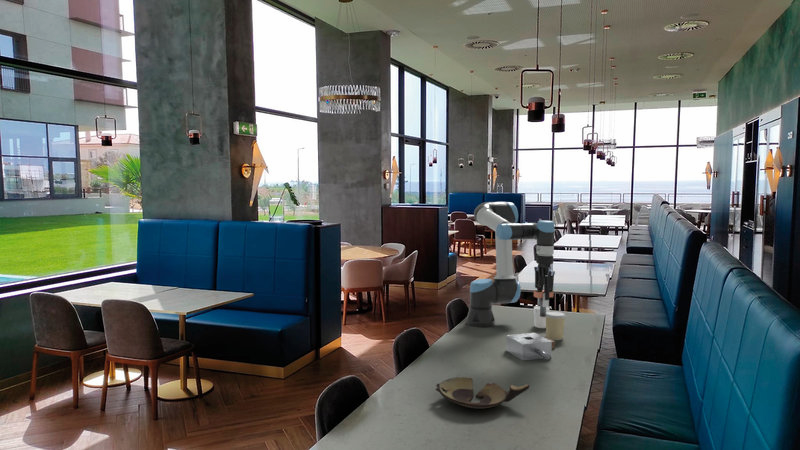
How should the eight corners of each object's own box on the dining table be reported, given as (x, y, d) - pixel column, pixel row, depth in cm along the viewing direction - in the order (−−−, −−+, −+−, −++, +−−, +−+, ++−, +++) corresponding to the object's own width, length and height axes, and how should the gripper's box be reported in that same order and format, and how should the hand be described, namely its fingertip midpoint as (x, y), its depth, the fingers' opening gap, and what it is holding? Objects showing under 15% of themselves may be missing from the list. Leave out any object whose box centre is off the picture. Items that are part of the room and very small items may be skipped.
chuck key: (533, 315, 246) (533, 290, 245) (548, 314, 248) (549, 289, 247) (537, 317, 243) (537, 292, 242) (552, 316, 245) (553, 291, 244)
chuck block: (506, 350, 240) (506, 335, 239) (533, 347, 244) (534, 332, 243) (533, 367, 218) (534, 350, 217) (563, 364, 222) (564, 347, 221)
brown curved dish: (452, 385, 198) (452, 365, 198) (532, 402, 183) (533, 380, 183) (424, 407, 179) (425, 385, 178) (512, 428, 164) (512, 404, 163)
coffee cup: (562, 335, 264) (563, 311, 263) (566, 341, 254) (567, 316, 254) (543, 335, 265) (543, 311, 264) (546, 340, 255) (547, 315, 254)
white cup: (532, 327, 278) (533, 308, 277) (533, 324, 285) (534, 305, 284) (548, 329, 275) (549, 310, 274) (549, 325, 283) (549, 306, 282)
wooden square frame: (530, 344, 249) (530, 338, 249) (545, 343, 251) (545, 336, 251) (539, 349, 241) (539, 343, 241) (554, 348, 244) (555, 341, 243)
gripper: (527, 252, 250) (526, 302, 252) (547, 257, 234) (545, 310, 236) (542, 251, 252) (540, 301, 254) (562, 257, 236) (560, 309, 238)
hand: (543, 305), depth 245 cm, fingers closed on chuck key, 3 cm apart
